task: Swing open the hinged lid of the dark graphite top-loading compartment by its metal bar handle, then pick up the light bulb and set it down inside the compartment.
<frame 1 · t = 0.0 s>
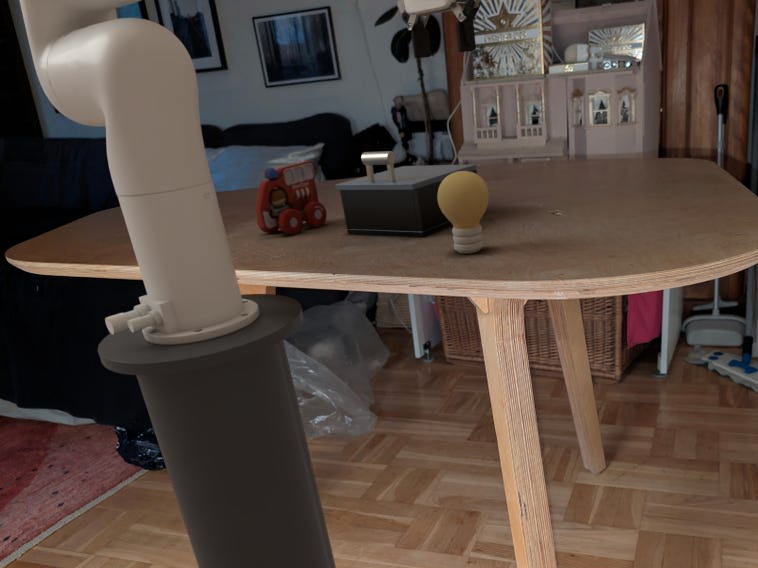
hand: (444, 54, 107), 24 cm above the table, tool pointing down, fingers open, 9 cm apart
lid: (405, 162, 106), point 9 cm above the table, hinge at 0.0°
compartment: (415, 223, 110), on the table
toy fire truck: (294, 231, 116), on the table
light bulb: (469, 252, 90), on the table
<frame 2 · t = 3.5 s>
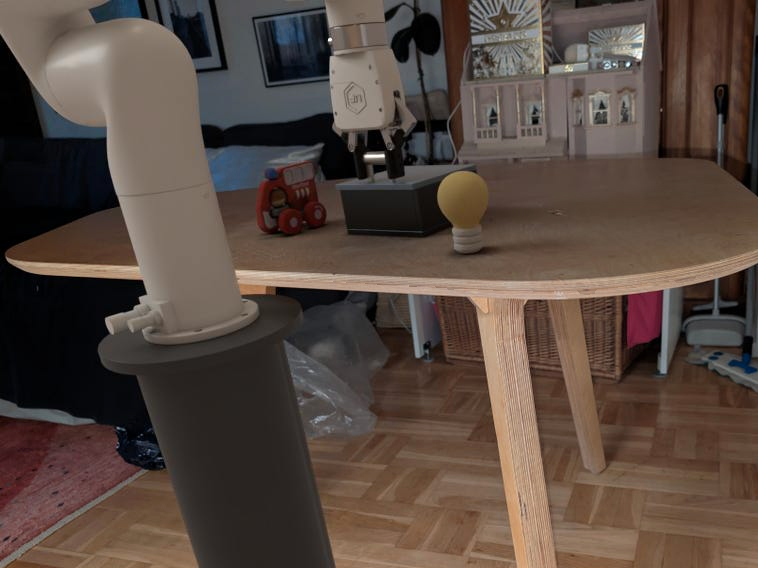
hand: (381, 176, 102), 8 cm above the table, tool pointing down, fingers closed on lid, 5 cm apart
lid: (405, 162, 106), point 9 cm above the table, hinge at 0.0°, touching gripper
everything else where it was.
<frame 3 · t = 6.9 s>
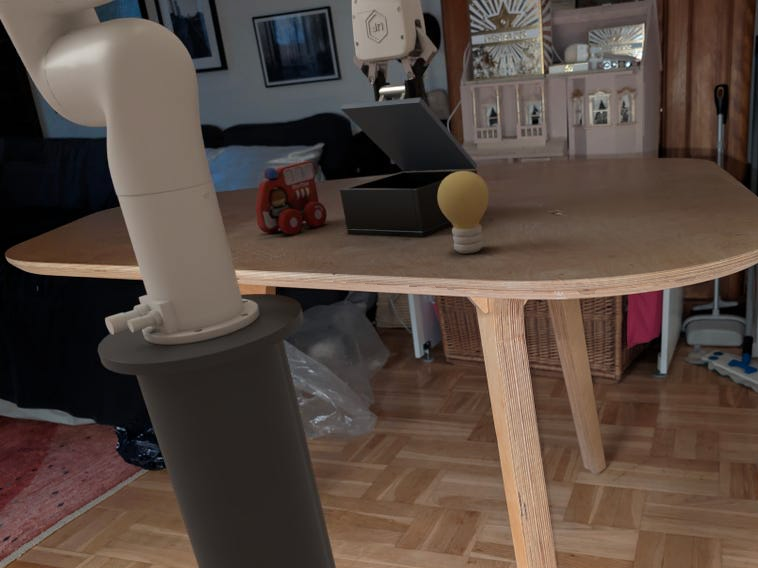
hand: (400, 109, 103), 17 cm above the table, tool pointing down, fingers closed on lid, 5 cm apart
lid: (414, 125, 107), point 14 cm above the table, hinge at 41.9°, touching gripper
everything else where it was.
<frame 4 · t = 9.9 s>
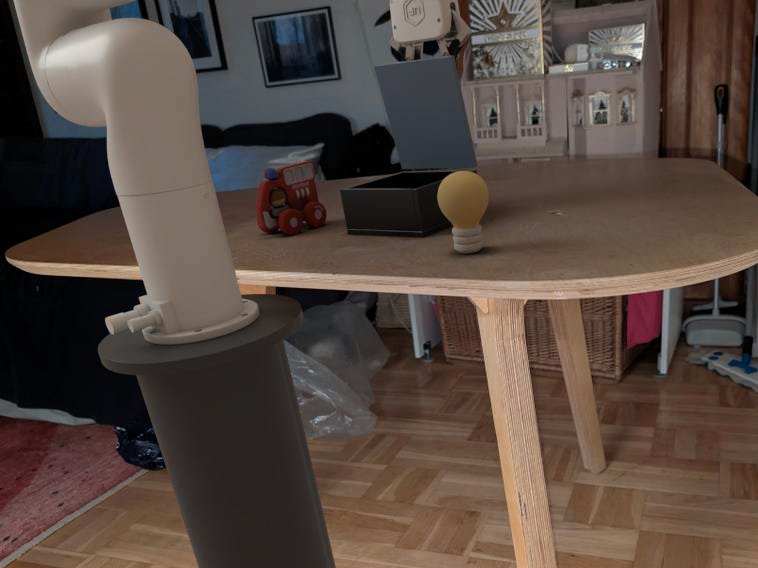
hand: (436, 87, 110), 19 cm above the table, tool pointing down, fingers closed on lid, 5 cm apart
lid: (433, 112, 110), point 16 cm above the table, hinge at 78.6°, touching gripper
everything else where it was.
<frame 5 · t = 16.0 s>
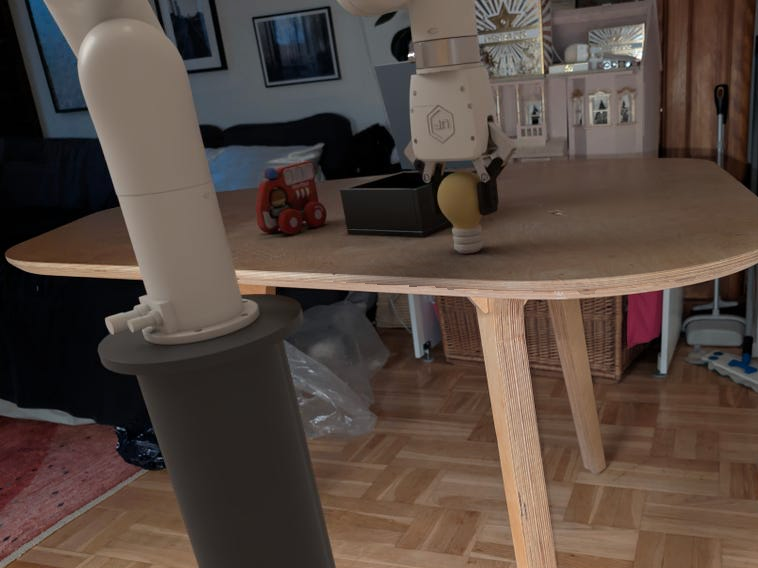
hand: (464, 211, 88), 5 cm above the table, tool pointing down, fingers closed on light bulb, 6 cm apart
lid: (433, 112, 110), point 16 cm above the table, hinge at 78.7°
light bulb: (469, 252, 90), on the table, touching gripper
everything else where it was.
when the fingers open (6 cm above the table, at t = 23.5 s): light bulb stays where it is, resting on compartment.
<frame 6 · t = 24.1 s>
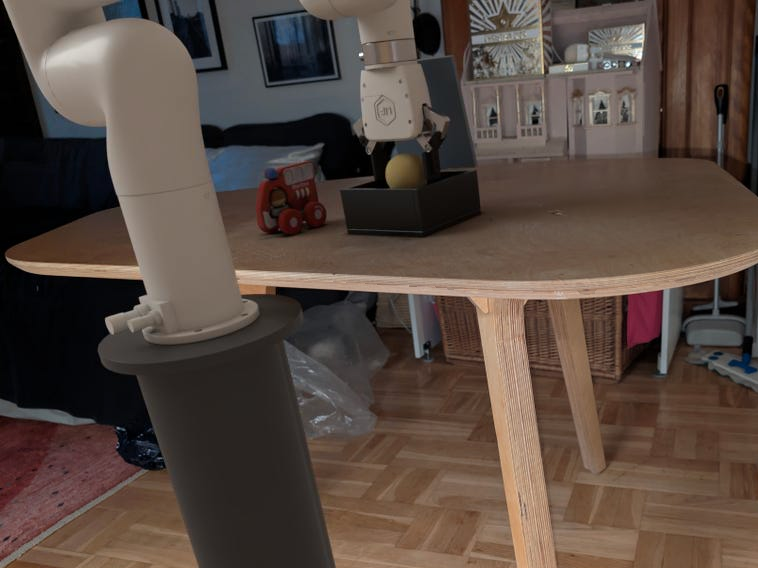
hand: (407, 179, 106), 7 cm above the table, tool pointing down, fingers open, 9 cm apart
light bulb: (413, 221, 108), point 1 cm above the table, touching compartment
everything else where it was.
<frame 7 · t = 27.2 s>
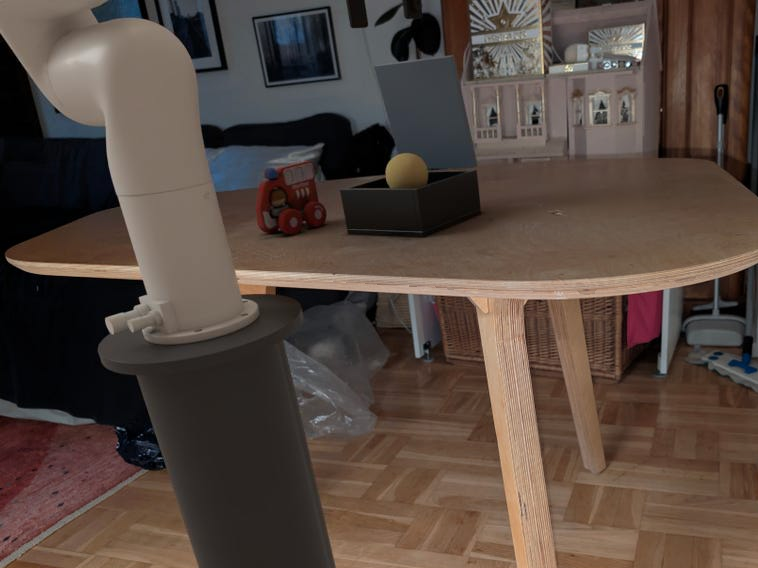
hand: (386, 23, 96), 28 cm above the table, tool pointing down, fingers open, 9 cm apart
nothing on the table moved.
at the end: lid at +79° (first picture: +0°); light bulb inside the target area in the compartment (1.2 cm from its centre), point 0.6 cm above the compartment's base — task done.
